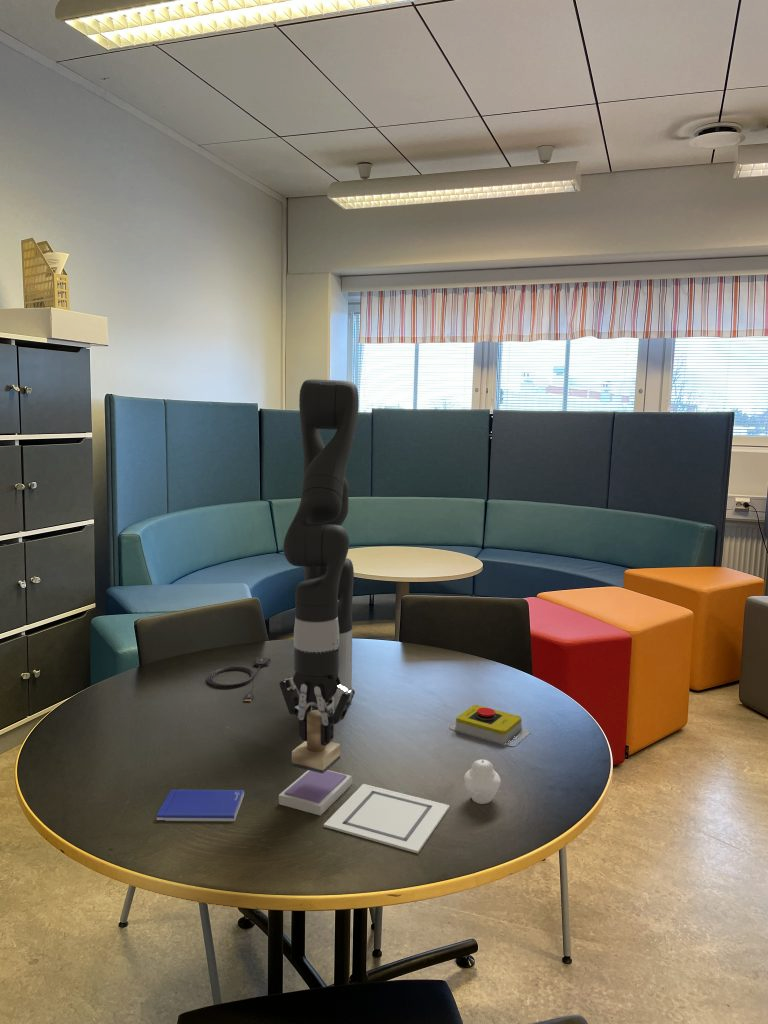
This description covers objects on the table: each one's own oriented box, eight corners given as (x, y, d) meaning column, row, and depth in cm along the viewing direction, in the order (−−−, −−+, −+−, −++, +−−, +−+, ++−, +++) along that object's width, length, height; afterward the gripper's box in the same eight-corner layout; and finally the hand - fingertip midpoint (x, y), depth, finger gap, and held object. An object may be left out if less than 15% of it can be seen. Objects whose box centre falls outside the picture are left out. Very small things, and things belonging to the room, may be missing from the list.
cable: (191, 703, 160) (191, 697, 160) (220, 661, 188) (220, 656, 188) (251, 704, 160) (251, 698, 160) (271, 662, 188) (271, 657, 188)
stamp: (291, 766, 119) (291, 717, 118) (310, 751, 124) (310, 704, 123) (322, 773, 116) (323, 723, 115) (340, 758, 122) (340, 710, 121)
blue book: (244, 788, 121) (171, 788, 121) (234, 815, 113) (156, 814, 112) (244, 797, 121) (171, 796, 121) (234, 824, 113) (156, 823, 113)
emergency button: (468, 696, 155) (533, 713, 146) (468, 716, 155) (532, 733, 147) (448, 710, 147) (515, 729, 139) (447, 730, 148) (514, 750, 139)
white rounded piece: (486, 813, 116) (487, 772, 115) (456, 799, 120) (457, 760, 119) (507, 798, 120) (508, 759, 120) (477, 785, 125) (478, 748, 124)
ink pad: (278, 804, 118) (278, 793, 118) (312, 774, 128) (312, 764, 127) (320, 815, 114) (320, 804, 114) (351, 784, 124) (351, 774, 124)
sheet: (323, 826, 111) (323, 823, 111) (363, 785, 124) (363, 783, 124) (417, 853, 105) (418, 850, 105) (449, 807, 117) (449, 804, 117)
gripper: (268, 643, 117) (269, 742, 119) (343, 655, 111) (342, 759, 114) (292, 631, 124) (292, 725, 126) (364, 642, 118) (363, 741, 120)
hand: (316, 741), depth 120 cm, fingers closed on stamp, 3 cm apart
